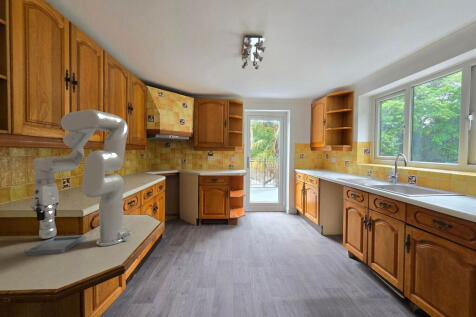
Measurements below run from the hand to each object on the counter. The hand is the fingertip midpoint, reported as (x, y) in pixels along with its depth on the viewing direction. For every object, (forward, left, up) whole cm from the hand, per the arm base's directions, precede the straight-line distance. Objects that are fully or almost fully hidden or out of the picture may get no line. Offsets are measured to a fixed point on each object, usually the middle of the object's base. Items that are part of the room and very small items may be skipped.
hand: (47, 217), depth 102 cm
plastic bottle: (0, 0, -10) cm, 10 cm away
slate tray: (-14, +12, -10) cm, 21 cm away
